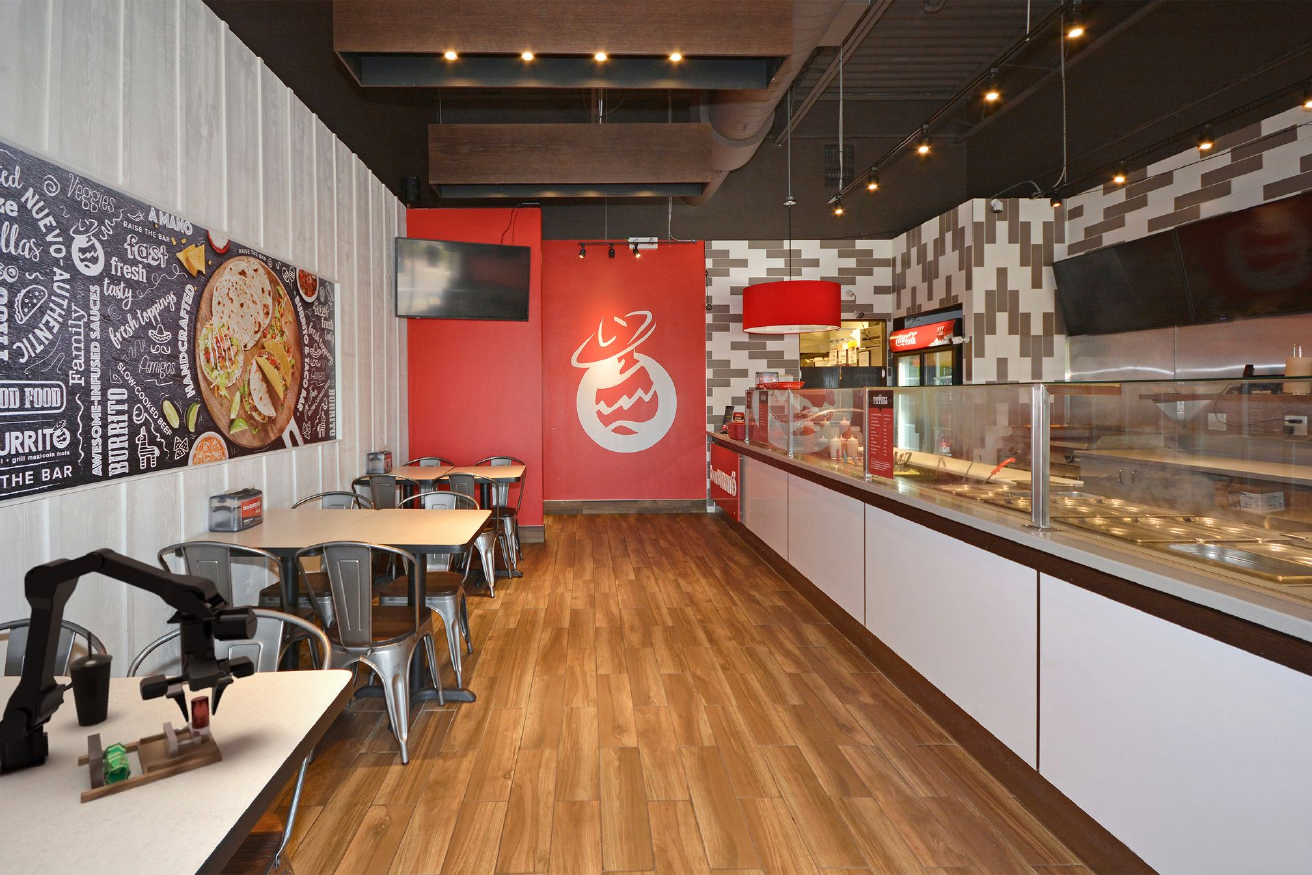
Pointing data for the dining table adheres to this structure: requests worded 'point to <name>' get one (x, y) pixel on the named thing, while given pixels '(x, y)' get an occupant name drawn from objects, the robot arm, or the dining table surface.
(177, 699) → the robot arm
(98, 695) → the drinking cup
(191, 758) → the wooden vise
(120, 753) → the candy
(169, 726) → the lever
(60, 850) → the dining table surface
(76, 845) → the dining table surface
